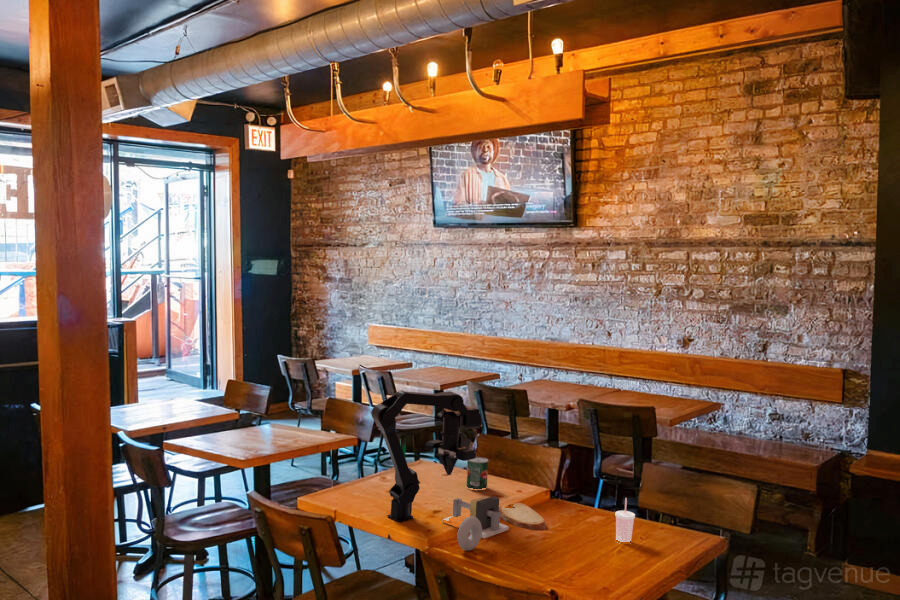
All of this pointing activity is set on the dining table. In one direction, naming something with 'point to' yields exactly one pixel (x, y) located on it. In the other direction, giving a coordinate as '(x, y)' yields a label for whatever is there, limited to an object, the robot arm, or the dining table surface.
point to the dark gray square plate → (482, 507)
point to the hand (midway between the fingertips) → (449, 474)
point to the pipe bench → (488, 530)
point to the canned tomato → (477, 473)
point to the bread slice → (522, 517)
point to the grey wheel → (463, 533)
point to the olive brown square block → (473, 505)
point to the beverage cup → (624, 524)
